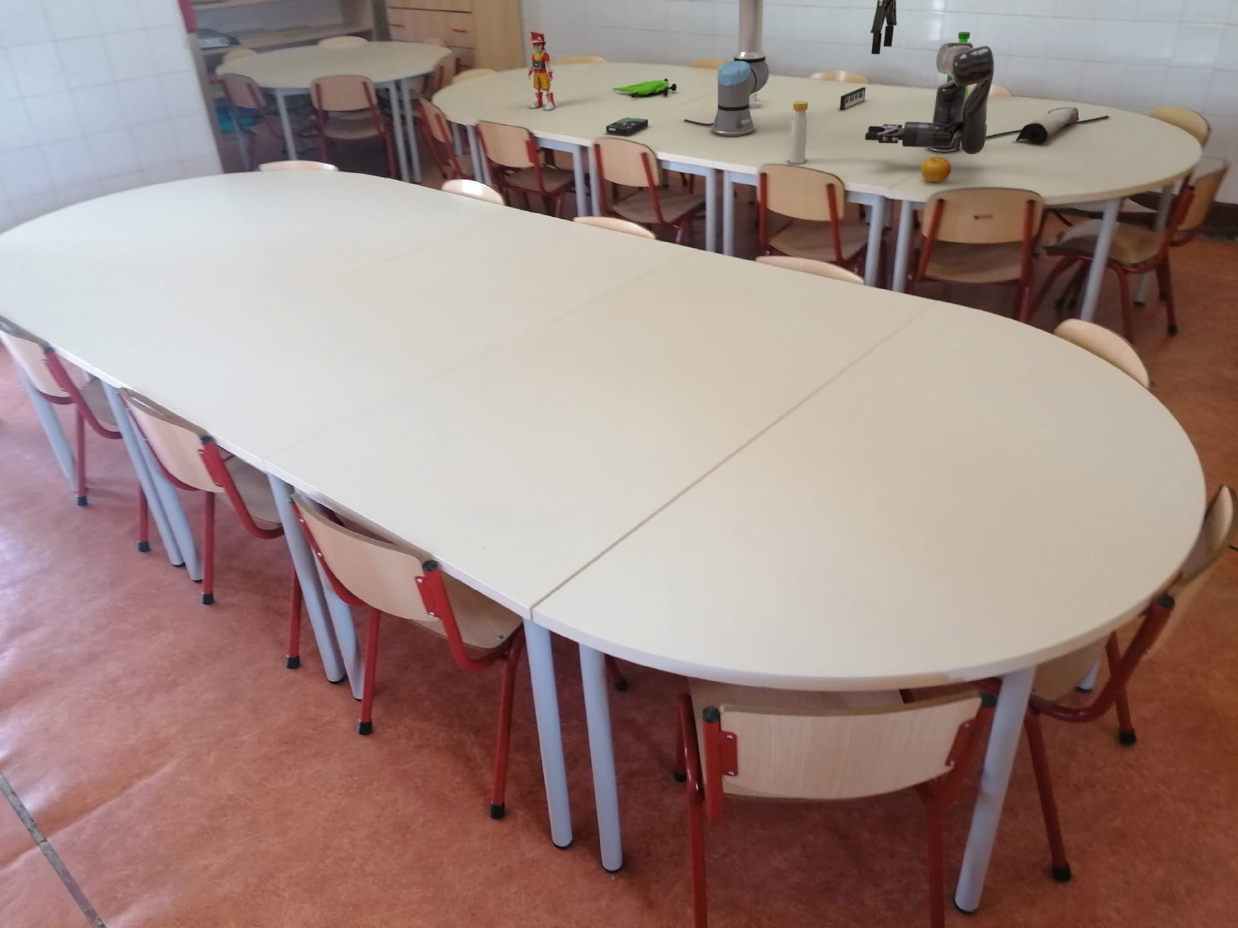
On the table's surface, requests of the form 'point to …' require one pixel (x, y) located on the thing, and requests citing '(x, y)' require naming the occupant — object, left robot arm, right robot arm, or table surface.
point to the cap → (800, 105)
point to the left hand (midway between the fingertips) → (881, 50)
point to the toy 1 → (541, 71)
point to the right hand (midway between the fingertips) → (866, 133)
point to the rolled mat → (1048, 125)
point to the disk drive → (627, 126)
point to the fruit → (936, 169)
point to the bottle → (798, 137)
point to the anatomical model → (753, 100)
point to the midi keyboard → (852, 98)
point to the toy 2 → (648, 88)
